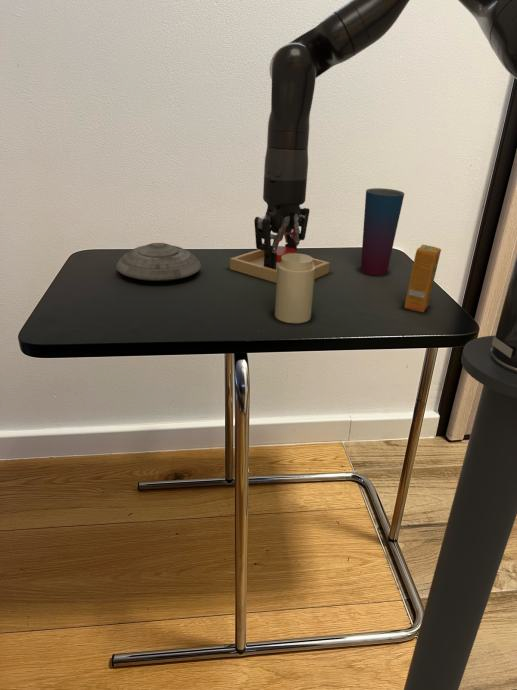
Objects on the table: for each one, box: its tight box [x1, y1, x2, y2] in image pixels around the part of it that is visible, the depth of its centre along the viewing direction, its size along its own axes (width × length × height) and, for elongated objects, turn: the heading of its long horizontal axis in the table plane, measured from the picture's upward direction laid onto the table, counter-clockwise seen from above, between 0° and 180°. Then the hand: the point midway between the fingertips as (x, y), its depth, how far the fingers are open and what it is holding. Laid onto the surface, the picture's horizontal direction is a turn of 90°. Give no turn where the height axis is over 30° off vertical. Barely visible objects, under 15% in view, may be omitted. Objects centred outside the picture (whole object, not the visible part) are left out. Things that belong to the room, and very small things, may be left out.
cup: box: [360, 187, 405, 276], centre depth 101 cm, size 7×7×15 cm
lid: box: [276, 245, 298, 262], centre depth 101 cm, size 6×6×1 cm
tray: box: [229, 249, 331, 284], centre depth 101 cm, size 15×12×2 cm
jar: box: [274, 252, 316, 324], centre depth 81 cm, size 6×6×9 cm
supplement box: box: [404, 244, 442, 313], centre depth 86 cm, size 3×3×10 cm
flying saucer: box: [115, 242, 202, 282], centre depth 97 cm, size 15×15×6 cm
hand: (279, 267), depth 102 cm, fingers closed on lid, 5 cm apart
